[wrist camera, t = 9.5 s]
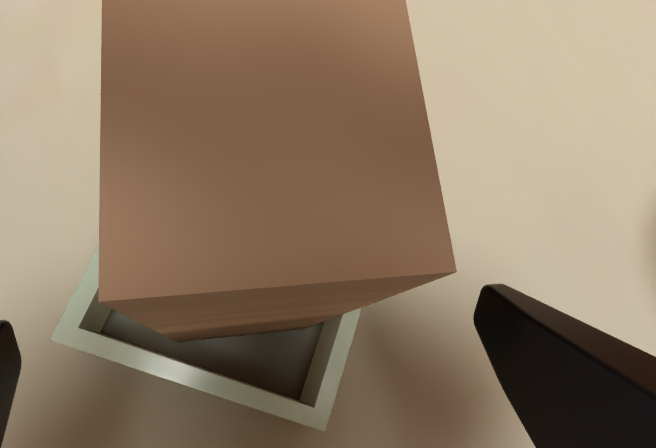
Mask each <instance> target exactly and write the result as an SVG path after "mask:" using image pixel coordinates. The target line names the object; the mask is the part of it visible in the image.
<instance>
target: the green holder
mask: <svg viewBox="0 0 656 448" xmlns="http://www.w3.org/2000/svg"><path fill="white" fill-rule="evenodd" d="M98 292H99V246H98V248H97V250H96V252H95V254H94V255H93V257H92V259H91V261H90V263H89V265H88V267H87V269H86V271H85V273H84V275H83V277H82V279H81V280H80V282H79V284H78V286H77V288H76V290H75V292H74V294H73V296H72V298H71V300H70V302H69V303H68V305H67V307H66V309H65V311H64V313H63V315H62V317H61V319H60V321H59V323H58V325H57V326H56V328H55V330H54V332H53V334H52V336H51V338H50V340H51V341H54V342H57V343H60V344H63V345H66V346H69V347H72V348H75V349H78V350H81V351H84V352H87V353H90V354H93V355H96V356H99V357H102V358H105V359H108V360H111V361H114V362H117V363H120V364H123V365H126V366H129V367H132V368H135V369H138V370H141V371H144V372H147V373H150V374H153V375H156V376H159V377H162V378H165V379H168V380H171V381H174V382H177V383H180V384H183V385H186V386H189V387H192V388H194V389H197V390H200V391H203V392H206V393H209V394H212V395H215V396H218V397H221V398H224V399H227V400H230V401H233V402H236V403H239V404H242V405H245V406H248V407H251V408H254V409H257V410H260V411H263V412H266V413H269V414H272V415H275V416H278V417H281V418H284V419H287V420H290V421H293V422H296V423H299V424H302V425H305V426H308V427H311V428H314V429H317V430H320V431H323V432H325V431H326V428H327V425H328V421H329V418H330V414H331V411H332V408H333V404H334V401H335V398H336V394H337V391H338V387H339V384H340V381H341V377H342V374H343V370H344V367H345V364H346V360H347V357H348V353H349V350H350V347H351V343H352V340H353V336H354V333H355V330H356V326H357V323H358V319H359V316H360V313H361V309H362V307H361V308H359V309H356V310H353V311H351V312H348V313H345V314H343V315H340V316H337V317H334V318H332V319H329V320H326V321H325V322H324V325H323V328H322V331H321V334H320V337H319V341H318V344H317V347H316V350H315V353H314V356H313V359H312V362H311V366H310V369H309V372H308V375H307V378H306V381H305V384H304V387H303V391H302V394H301V397H300V400H299V401H298V400H295V399H292V398H289V397H286V396H283V395H280V394H277V393H274V392H271V391H268V390H265V389H262V388H260V387H257V386H254V385H251V384H248V383H245V382H242V381H239V380H236V379H233V378H230V377H227V376H224V375H221V374H218V373H215V372H212V371H210V370H207V369H204V368H201V367H198V366H195V365H192V364H189V363H186V362H183V361H180V360H177V359H174V358H171V357H168V356H165V355H162V354H160V353H157V352H154V351H151V350H148V349H145V348H142V347H139V346H136V345H133V344H130V343H127V342H124V341H121V340H118V339H115V338H112V337H110V336H107V335H104V334H101V331H102V329H103V327H104V325H105V323H106V320H107V318H108V316H109V314H110V312H111V310H112V308H110V307H108V306H106V305H104V304H102V303H100V302H98Z"/></svg>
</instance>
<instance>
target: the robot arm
mask: <svg viewBox="0 0 656 448" xmlns="http://www.w3.org/2000/svg"><path fill="white" fill-rule="evenodd" d="M474 325H475V328H476V330H477V332H478V335H479V337H480V339H481V341H482V344H483V346H484V348H485V350H486V353H487V355H488V357H489V360H490V362H491V364H492V366H493V369H494V371H495V373H496V376H497V378H498V380H499V382H500V384H501V386H502V388H503V390H504V392H505V394H506V396H507V398H508V399H509V401H510V403H511V405H512V406H513V408H514V410H515V412H516V414H517V415H518V417H519V419H520V421H521V422H522V424H523V426H524V428H525V430H526V431H527V433H528V435H529V437H530V438H531V440H532V442H533V444H534V445H535V447H536V448H656V357H655V356H653V355H651V354H648V353H646V352H644V351H642V350H640V349H638V348H636V347H634V346H632V345H630V344H628V343H625V342H623V341H621V340H619V339H617V338H615V337H613V336H611V335H609V334H607V333H605V332H602V331H600V330H598V329H596V328H594V327H592V326H590V325H588V324H586V323H584V322H582V321H580V320H577V319H575V318H573V317H571V316H569V315H567V314H565V313H563V312H561V311H559V310H557V309H554V308H552V307H550V306H548V305H546V304H544V303H542V302H540V301H538V300H536V299H534V298H532V297H529V296H527V295H525V294H523V293H521V292H519V291H517V290H515V289H513V288H511V287H509V286H506V285H504V284H488V285H485V286H484V287H483V288H482V289H481V292H480V295H479V298H478V302H477V305H476V309H475V312H474ZM20 370H21V355H20V351H19V348H18V345H17V341H16V338H15V334H14V331H13V328H12V325H11V324H10V322H8V321H6V320H0V448H1V445H2V442H3V438H4V434H5V430H6V426H7V422H8V418H9V414H10V410H11V406H12V402H13V398H14V394H15V390H16V386H17V383H18V379H19V375H20Z"/></svg>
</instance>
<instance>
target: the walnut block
mask: <svg viewBox="0 0 656 448" xmlns="http://www.w3.org/2000/svg"><path fill="white" fill-rule="evenodd" d="M455 272H457V271H456V266H455V260H454V255H453V250H452V245H451V239H450V234H449V229H448V223H447V218H446V213H445V207H444V202H443V197H442V192H441V186H440V181H439V176H438V170H437V165H436V160H435V154H434V149H433V144H432V139H431V133H430V128H429V123H428V117H427V112H426V107H425V101H424V96H423V91H422V86H421V80H420V75H419V70H418V64H417V59H416V54H415V48H414V43H413V38H412V33H411V27H410V22H409V17H408V11H407V6H406V1H405V0H102V49H101V130H100V211H99V292H98V302H100V303H102V304H104V305H106V306H108V307H110V308H112V309H114V310H115V311H117V312H119V313H121V314H123V315H125V316H127V317H129V318H131V319H133V320H135V321H137V322H139V323H141V324H143V325H145V326H147V327H149V328H151V329H152V330H154V331H156V332H158V333H160V334H162V335H164V336H166V337H168V338H170V339H172V340H174V341H176V342H186V341H195V340H204V339H214V338H223V337H232V336H242V335H251V334H260V333H270V332H279V331H288V330H298V329H305V328H308V327H310V326H313V325H316V324H318V323H321V322H324V321H326V320H329V319H332V318H334V317H337V316H340V315H343V314H345V313H348V312H351V311H353V310H356V309H359V308H361V307H364V306H367V305H369V304H372V303H375V302H377V301H380V300H383V299H385V298H388V297H391V296H393V295H396V294H399V293H401V292H404V291H407V290H410V289H412V288H415V287H418V286H420V285H423V284H426V283H428V282H431V281H434V280H436V279H439V278H442V277H444V276H447V275H450V274H452V273H455Z"/></svg>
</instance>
